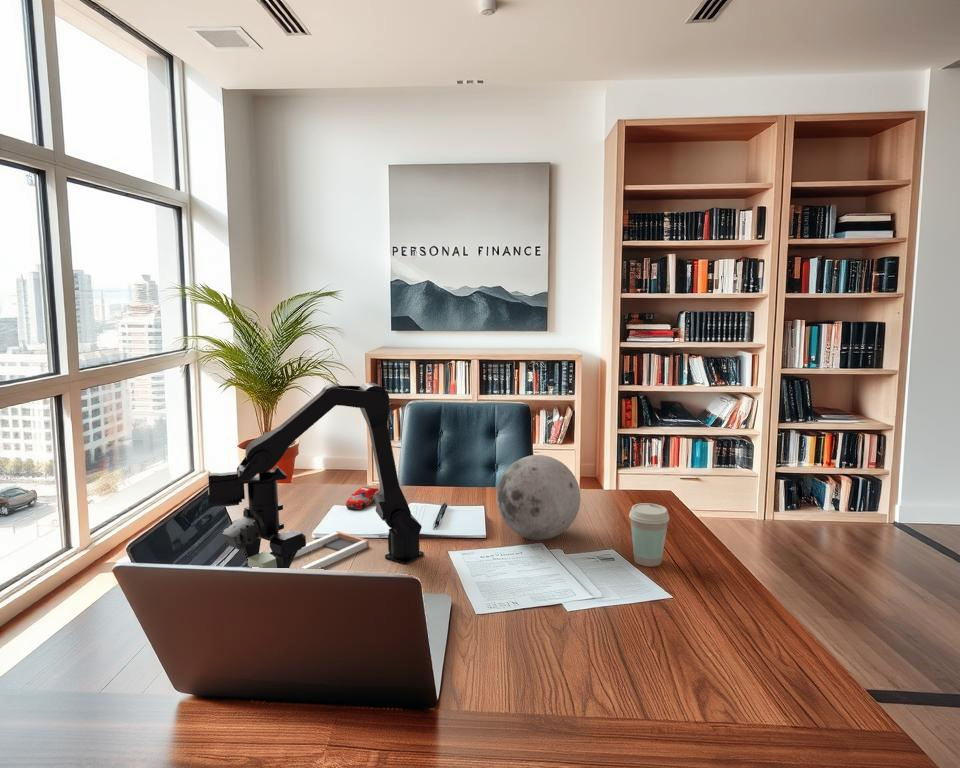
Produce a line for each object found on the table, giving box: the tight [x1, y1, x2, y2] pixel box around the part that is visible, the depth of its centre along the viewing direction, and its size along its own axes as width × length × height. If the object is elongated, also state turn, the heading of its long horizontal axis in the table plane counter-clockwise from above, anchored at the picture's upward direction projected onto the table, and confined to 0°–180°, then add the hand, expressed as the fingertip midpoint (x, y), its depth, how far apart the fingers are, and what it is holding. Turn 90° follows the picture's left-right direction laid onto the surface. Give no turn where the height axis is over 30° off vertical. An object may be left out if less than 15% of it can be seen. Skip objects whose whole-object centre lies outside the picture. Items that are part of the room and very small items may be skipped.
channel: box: [294, 531, 367, 570], centre depth 145 cm, size 10×18×2 cm, turn 145°
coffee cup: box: [628, 502, 670, 567], centre depth 140 cm, size 8×8×12 cm
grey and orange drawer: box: [322, 531, 370, 552], centre depth 150 cm, size 10×6×2 cm, turn 55°
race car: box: [345, 486, 380, 510], centre depth 181 cm, size 13×5×4 cm, turn 160°
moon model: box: [496, 454, 581, 541], centre depth 154 cm, size 20×20×20 cm
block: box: [246, 549, 277, 568], centre depth 133 cm, size 5×5×5 cm
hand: (267, 574), depth 133 cm, fingers open, 9 cm apart
